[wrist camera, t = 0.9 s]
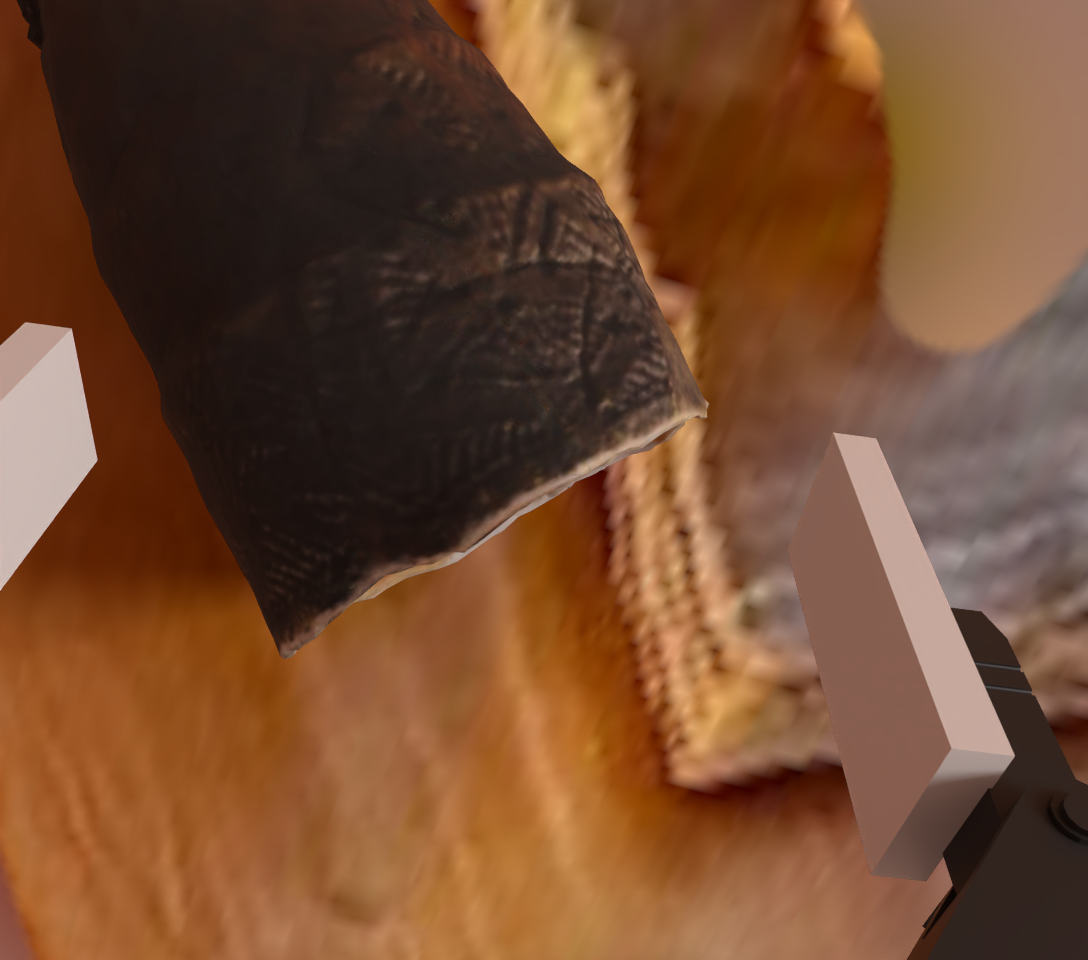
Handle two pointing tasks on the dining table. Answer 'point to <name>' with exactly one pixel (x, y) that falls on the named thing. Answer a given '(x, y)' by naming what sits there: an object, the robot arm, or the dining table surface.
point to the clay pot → (353, 282)
